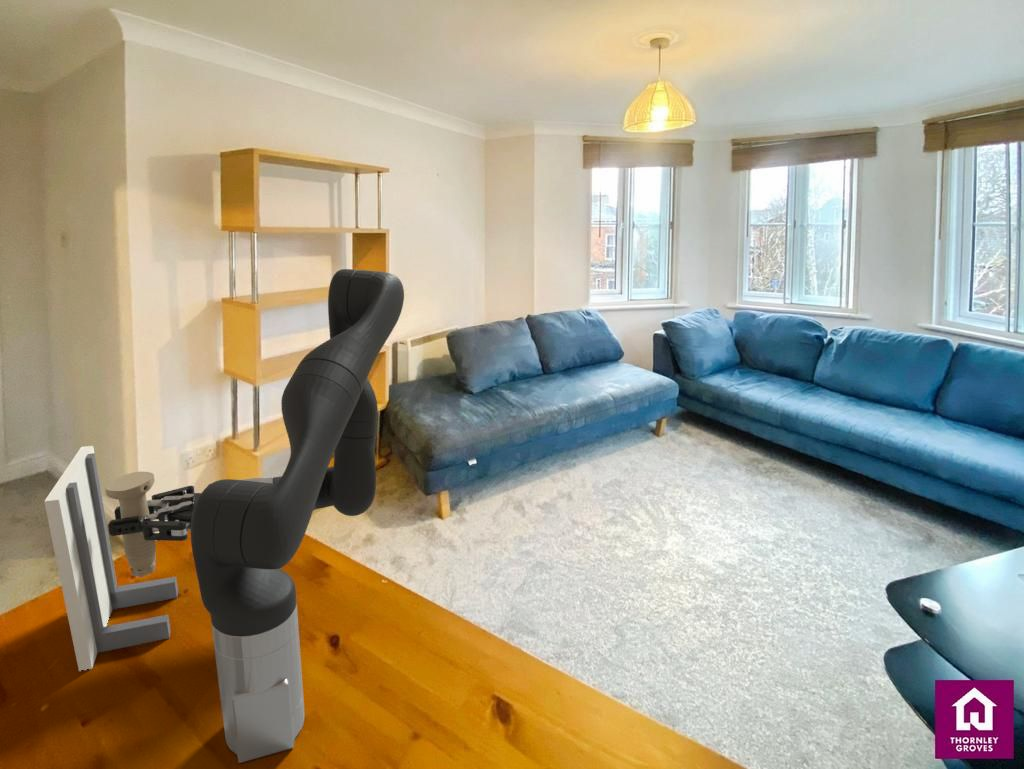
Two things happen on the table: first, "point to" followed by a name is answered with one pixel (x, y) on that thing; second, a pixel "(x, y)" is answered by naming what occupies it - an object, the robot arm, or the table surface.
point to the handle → (132, 505)
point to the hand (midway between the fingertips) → (113, 521)
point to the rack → (96, 568)
